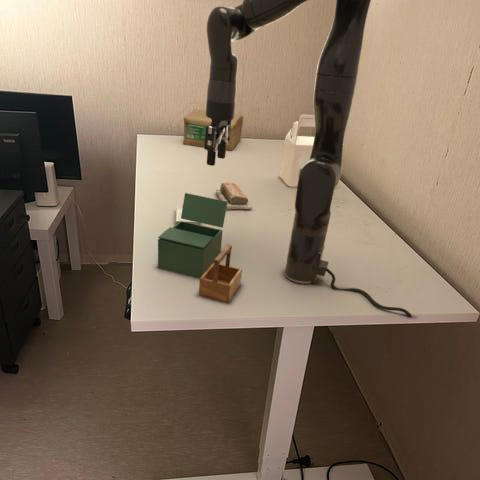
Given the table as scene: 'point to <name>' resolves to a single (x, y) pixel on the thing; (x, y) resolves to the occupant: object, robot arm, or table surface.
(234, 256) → the table surface
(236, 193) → the packaged product
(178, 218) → the hard drive
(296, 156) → the gable box
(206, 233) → the carton
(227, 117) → the robot arm
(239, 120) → the paper package
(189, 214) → the flap
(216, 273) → the basket
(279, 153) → the table surface
